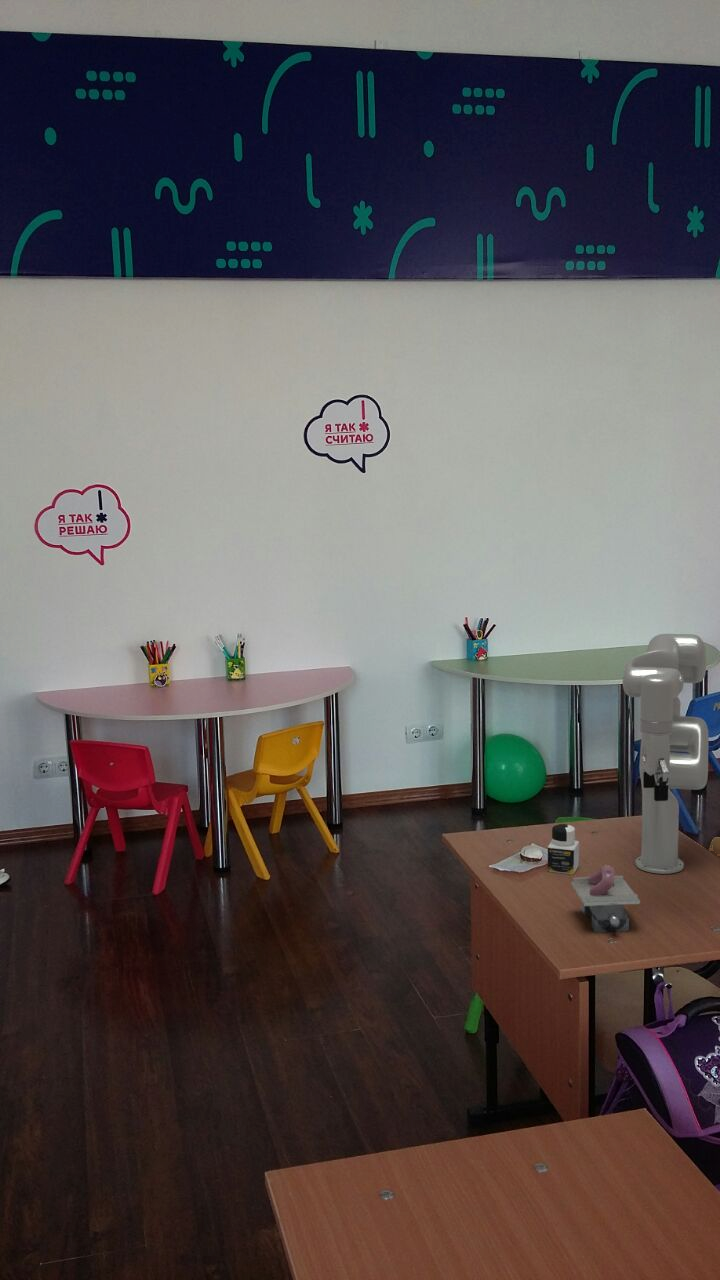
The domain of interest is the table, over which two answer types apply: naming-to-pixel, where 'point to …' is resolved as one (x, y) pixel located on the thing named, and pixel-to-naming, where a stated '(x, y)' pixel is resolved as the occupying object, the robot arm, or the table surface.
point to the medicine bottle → (563, 850)
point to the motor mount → (606, 904)
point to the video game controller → (602, 880)
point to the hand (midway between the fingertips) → (655, 793)
